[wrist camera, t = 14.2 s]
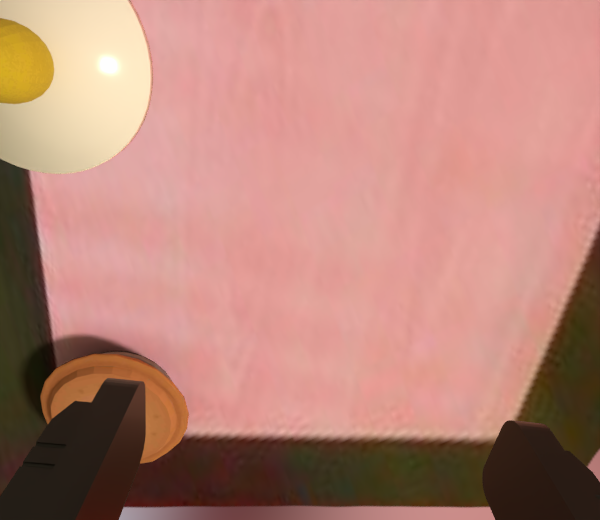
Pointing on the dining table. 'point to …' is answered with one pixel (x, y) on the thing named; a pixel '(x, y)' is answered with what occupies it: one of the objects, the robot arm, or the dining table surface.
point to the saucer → (79, 85)
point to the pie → (123, 365)
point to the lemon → (23, 64)
